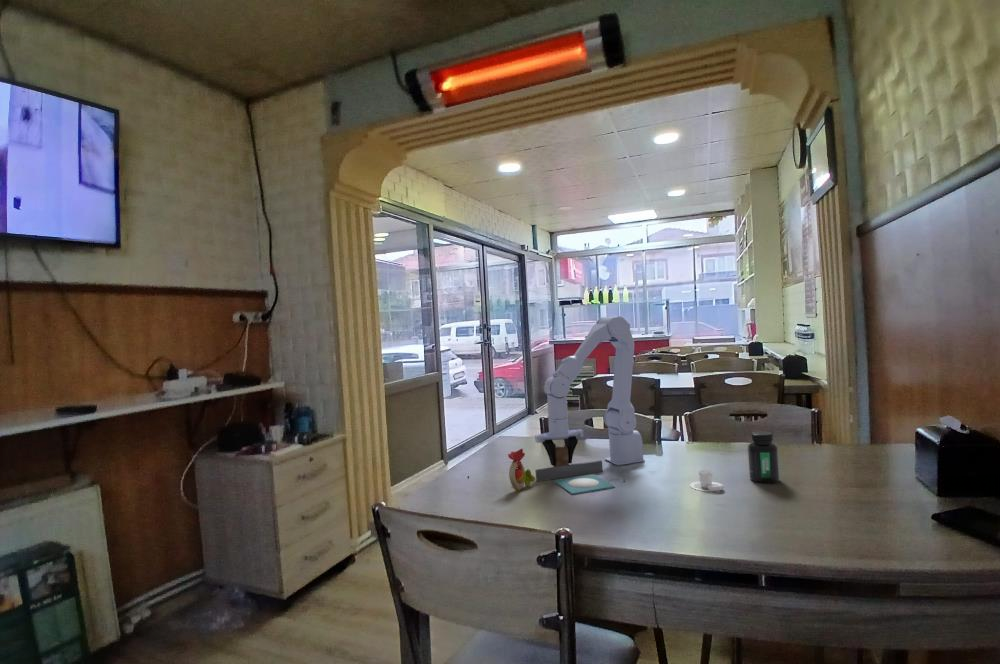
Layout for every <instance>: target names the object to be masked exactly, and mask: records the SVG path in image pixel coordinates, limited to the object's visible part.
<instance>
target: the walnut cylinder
mask: <svg viewBox="0 0 1000 664" xmlns="http://www.w3.org/2000/svg"><path fill="white" fill-rule="evenodd" d="M555 461H556V466H553V467H557V466H564V465H570V464H569V457H568V446H566V445H565V444H556V445H555Z"/></svg>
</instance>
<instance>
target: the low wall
mask: <svg viewBox="0 0 1000 664" xmlns="http://www.w3.org/2000/svg"><path fill="white" fill-rule="evenodd" d="M534 472H535V481H536V482H542V481H543V482H544V481H548V480H557V479H564V478H570V477H576V476H583V475H589V474H593V473H594V474H595V473H599V472H603V460H601V459H599V460H593V461H585V462H579V463H570V464H569V465H564V466H557V467H554V466H552V467H545V468H538V469H537V468H536V469H535V471H534Z"/></svg>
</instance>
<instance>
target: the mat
mask: <svg viewBox="0 0 1000 664" xmlns="http://www.w3.org/2000/svg"><path fill="white" fill-rule="evenodd" d="M553 482H554V483H555V484H556V485H557V486H559V487H561V489H563V490H565V491H566V492H568V493H569V495H580V494H584V493H591V492H595V491H596V492H597V491H602V490H608V489H615V488H616V487H615V485H614V484H612V483H610V482H609V481H607V480H605V479H603V478H602V477H599V476H598V475H596V474H595V473H594V474H593V473H590V474H584V475H578V476H571V477H565V478H558V479H553Z"/></svg>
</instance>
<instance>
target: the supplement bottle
mask: <svg viewBox="0 0 1000 664" xmlns="http://www.w3.org/2000/svg"><path fill="white" fill-rule="evenodd" d="M750 434H751V441H752V442H750V443H749V444H748V446H747V452H748V453H747V454H748V455H747V457H748V473H749V478H750V480H751V481H753V482H755V483H759V484H767V485H770V484H776V483H778V482H779V481H780V463H779V448H778V446H777V444H775V443H774V437H773V433H772V432H770V431H765V430H764V431H763V430H757V431H752V432H751V433H750Z"/></svg>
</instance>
